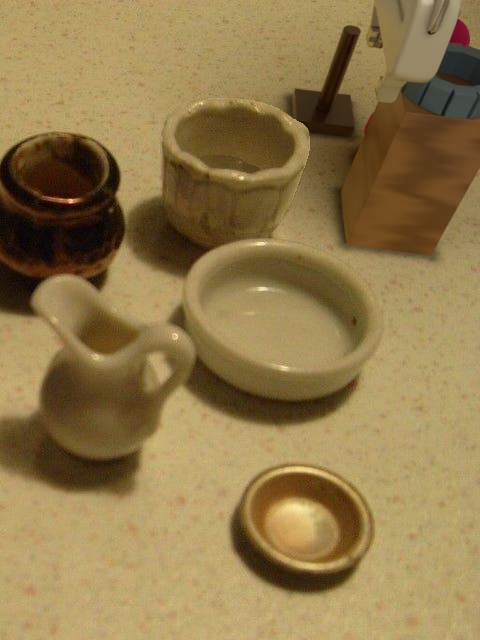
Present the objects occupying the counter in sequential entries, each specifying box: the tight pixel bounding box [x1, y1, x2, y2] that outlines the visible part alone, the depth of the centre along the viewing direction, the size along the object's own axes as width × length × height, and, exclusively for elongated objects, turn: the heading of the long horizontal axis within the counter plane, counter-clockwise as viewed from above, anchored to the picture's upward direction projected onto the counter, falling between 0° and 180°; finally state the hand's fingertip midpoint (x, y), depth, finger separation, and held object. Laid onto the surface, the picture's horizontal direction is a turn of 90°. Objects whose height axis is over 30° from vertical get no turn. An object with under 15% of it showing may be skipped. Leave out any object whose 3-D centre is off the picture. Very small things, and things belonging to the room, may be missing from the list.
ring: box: [401, 43, 480, 119], centre depth 82 cm, size 9×9×2 cm
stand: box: [291, 24, 362, 138], centre depth 104 cm, size 7×7×12 cm
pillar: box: [340, 73, 480, 256], centre depth 89 cm, size 9×9×17 cm
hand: (378, 70), depth 83 cm, fingers open, 8 cm apart
